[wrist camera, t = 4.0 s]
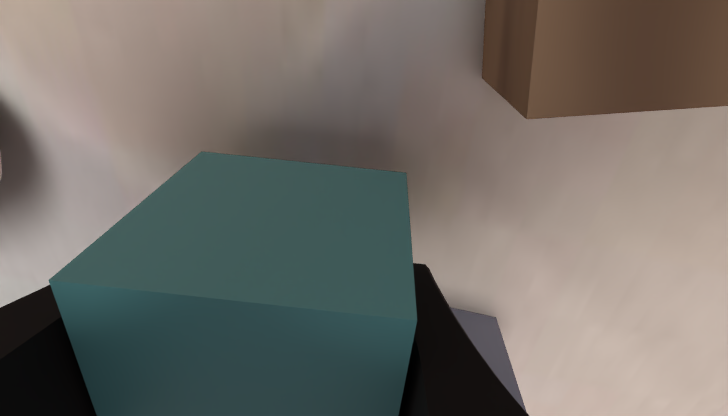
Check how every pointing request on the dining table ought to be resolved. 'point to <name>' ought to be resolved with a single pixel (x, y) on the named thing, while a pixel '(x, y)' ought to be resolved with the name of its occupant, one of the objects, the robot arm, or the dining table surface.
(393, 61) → the dining table surface
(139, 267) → the teal block
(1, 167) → the white knot sculpture
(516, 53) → the walnut block
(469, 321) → the slate-blue block
